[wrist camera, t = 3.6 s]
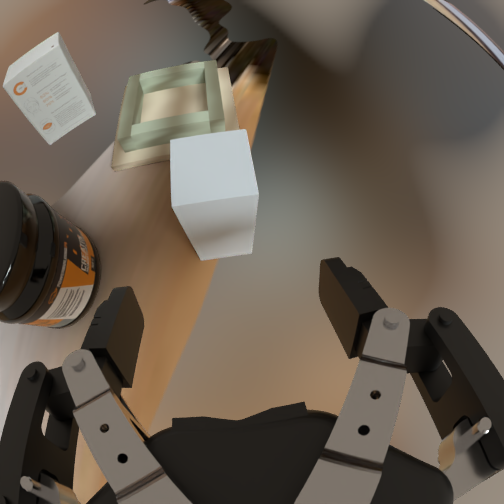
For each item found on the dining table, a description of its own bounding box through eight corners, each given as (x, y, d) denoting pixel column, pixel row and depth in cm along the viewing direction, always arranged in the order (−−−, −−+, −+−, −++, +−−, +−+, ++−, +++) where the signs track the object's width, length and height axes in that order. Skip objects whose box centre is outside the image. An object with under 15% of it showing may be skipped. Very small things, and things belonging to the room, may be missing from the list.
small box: (90, 93, 31) (59, 29, 18) (97, 115, 29) (59, 44, 17) (47, 122, 29) (7, 66, 17) (49, 147, 28) (1, 86, 15)
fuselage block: (201, 260, 24) (171, 206, 14) (196, 214, 25) (170, 140, 15) (251, 253, 25) (258, 194, 14) (244, 207, 26) (246, 129, 15)
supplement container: (109, 325, 22) (21, 314, 11) (32, 331, 21) (-51, 319, 10) (104, 219, 25) (38, 154, 14) (32, 238, 24) (-37, 195, 13)
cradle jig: (114, 171, 27) (102, 153, 23) (127, 91, 30) (120, 73, 27) (242, 149, 28) (242, 127, 24) (227, 72, 31) (227, 53, 28)
